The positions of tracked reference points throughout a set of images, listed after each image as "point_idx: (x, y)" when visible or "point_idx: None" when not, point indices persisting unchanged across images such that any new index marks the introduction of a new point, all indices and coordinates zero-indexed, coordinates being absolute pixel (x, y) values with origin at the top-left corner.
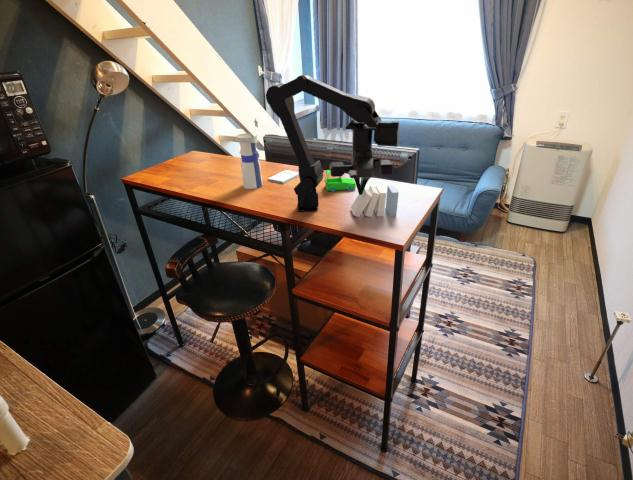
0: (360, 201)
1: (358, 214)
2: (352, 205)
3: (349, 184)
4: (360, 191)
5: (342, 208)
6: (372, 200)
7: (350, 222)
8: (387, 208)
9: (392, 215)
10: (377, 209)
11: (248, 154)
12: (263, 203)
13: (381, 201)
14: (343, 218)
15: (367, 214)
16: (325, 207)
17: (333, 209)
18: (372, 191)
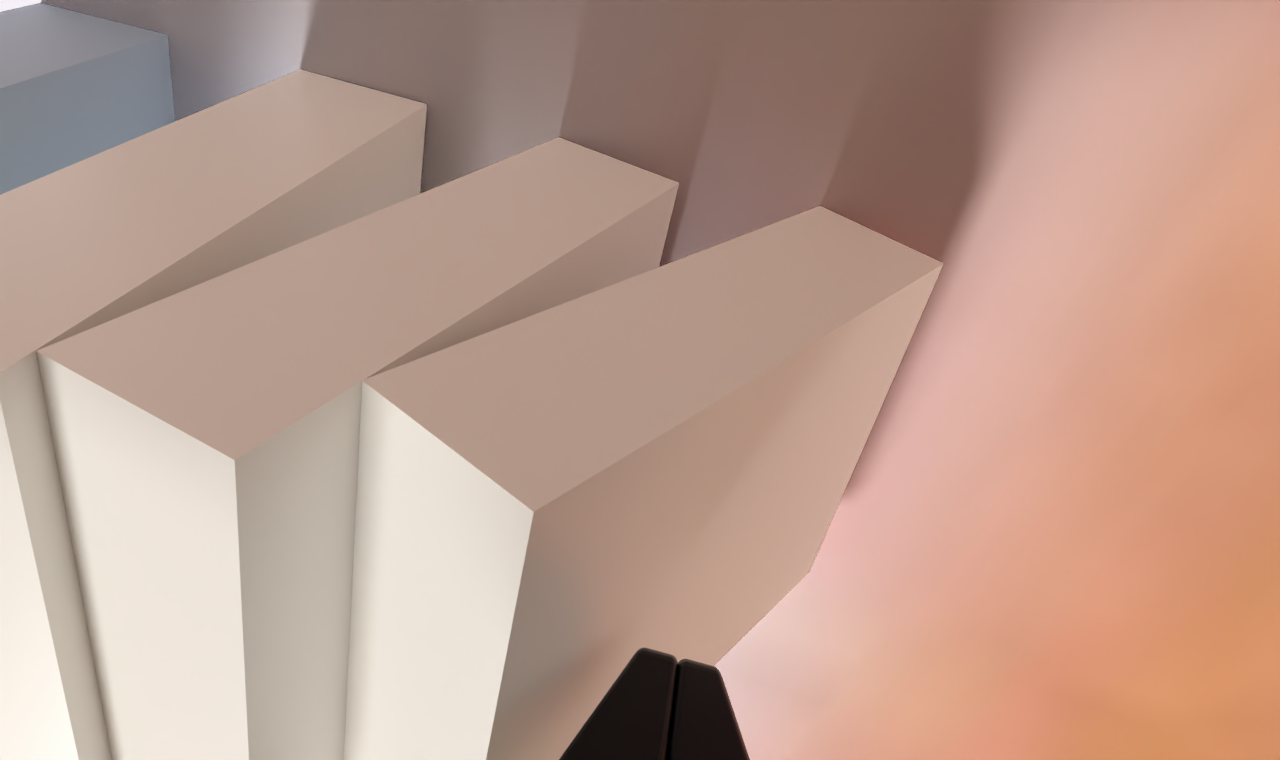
0: (739, 454)
1: (827, 234)
2: (794, 570)
3: None
4: (675, 749)
5: (924, 616)
6: (404, 307)
7: (1127, 38)
8: None
9: (109, 26)
10: (360, 205)
11: None
12: None
13: (149, 212)
14: (1151, 278)
15: (625, 180)
16: (1179, 740)
17: (1096, 642)
18: (265, 594)
